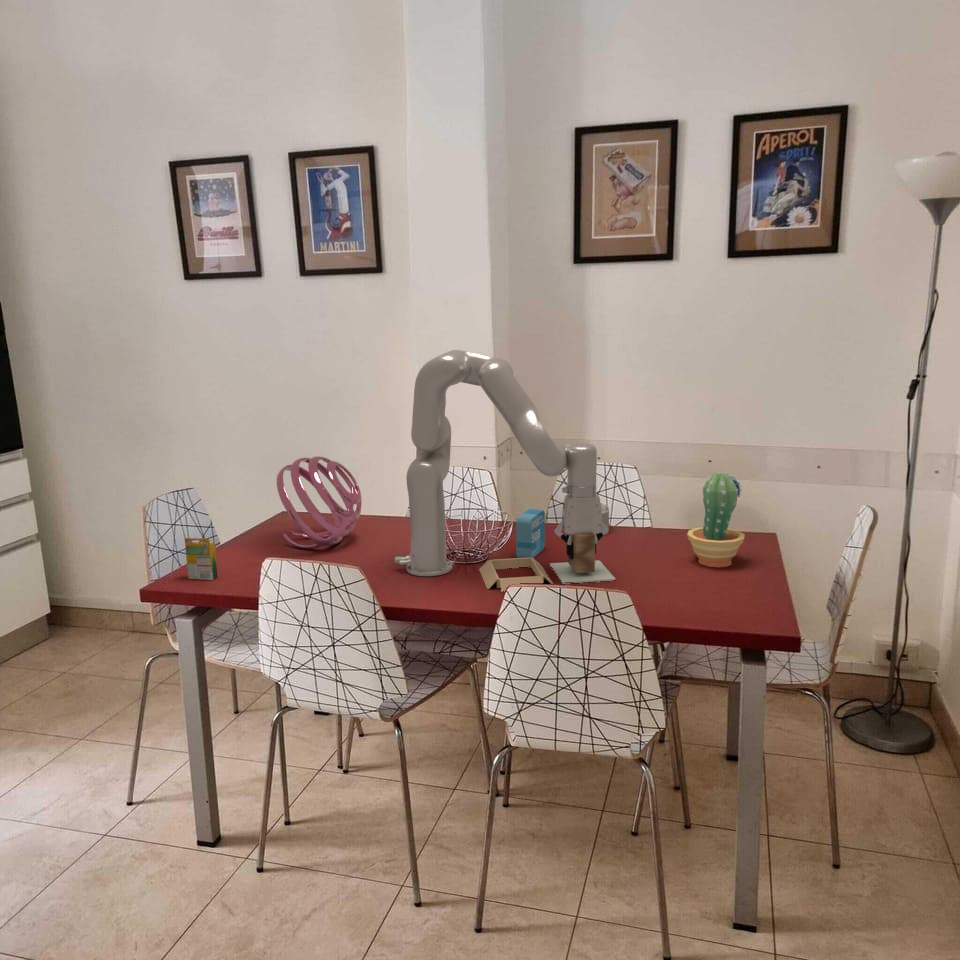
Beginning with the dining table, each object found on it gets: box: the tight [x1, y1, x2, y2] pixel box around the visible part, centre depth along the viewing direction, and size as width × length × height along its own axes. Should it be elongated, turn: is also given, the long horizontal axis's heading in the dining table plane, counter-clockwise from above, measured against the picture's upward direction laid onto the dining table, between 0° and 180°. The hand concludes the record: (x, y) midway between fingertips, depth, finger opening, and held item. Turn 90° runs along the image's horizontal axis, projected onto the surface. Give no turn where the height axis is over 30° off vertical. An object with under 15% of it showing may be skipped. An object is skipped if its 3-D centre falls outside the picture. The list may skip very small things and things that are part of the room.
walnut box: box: [567, 533, 596, 573], centre depth 235 cm, size 5×9×10 cm, turn 8°
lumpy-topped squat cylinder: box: [600, 502, 610, 536], centre depth 274 cm, size 10×13×9 cm
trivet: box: [549, 559, 616, 585], centre depth 236 cm, size 14×16×1 cm
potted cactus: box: [686, 471, 745, 568], centre depth 240 cm, size 15×15×25 cm
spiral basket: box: [276, 455, 363, 550], centre depth 266 cm, size 28×28×27 cm
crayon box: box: [184, 537, 219, 581], centre depth 238 cm, size 7×3×12 cm, turn 80°
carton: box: [478, 557, 554, 593], centre depth 234 cm, size 17×21×3 cm
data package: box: [515, 508, 546, 559], centre depth 253 cm, size 12×4×12 cm, turn 157°
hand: (581, 556), depth 235 cm, fingers closed on walnut box, 5 cm apart
